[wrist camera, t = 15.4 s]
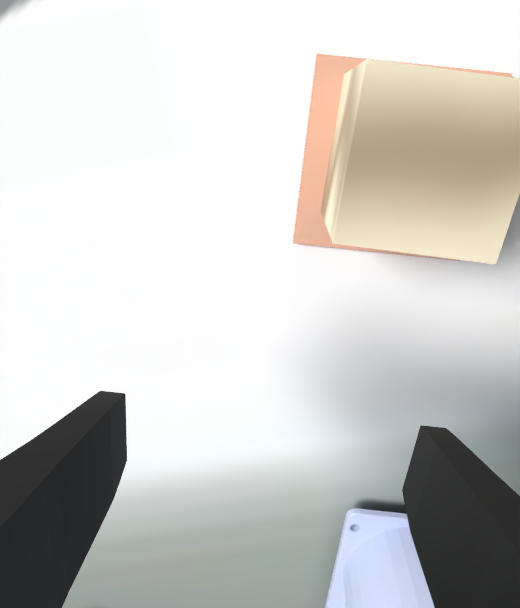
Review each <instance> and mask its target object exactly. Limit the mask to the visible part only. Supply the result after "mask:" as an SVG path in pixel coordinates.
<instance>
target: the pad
mask: <svg viewBox="0 0 520 608" xmlns="http://www.w3.org/2000/svg"><path fill="white" fill-rule="evenodd" d="M365 60H366V59H362V58H352V57H342V56H332V55H323V54H317V57H316V65H315V72H314V80H313V88H312V96H311V104H310V112H309V120H308V128H307V136H306V144H305V151H304V159H303V167H302V175H301V183H300V191H299V199H298V207H297V215H296V223H295V230H294V238H293V243H296V244H305V245H315V246H324V247H334V248H343V249H353V250H362V251H372V252H381V253H391V254H400V255H410V256H419V257H429V258H438V259H448V260H457V259H449V258H441V257H433V256H426V255H418V254H410V253H402V252H395V251H387V250H379V249H371V248H364V247H356V246H348V245H340V244H333V243H332V240H331V237H330V235H329V232H328V229H327V227H326V224H325V222H324V219H323V216H322V214H321V205H322V200H323V194H324V188H325V182H326V176H327V170H328V165H329V159H330V153H331V147H332V141H333V135H334V130H335V124H336V118H337V112H338V106H339V100H340V95H341V89H342V83H343V77H344V74H345V73H347V72H348V71H350V70H351V69H353V68H354V67H356V66H357V65H359V64H360V63H362V62H363V61H365ZM381 61H382V60H381ZM389 62H391V61H389ZM397 63H401V62H397ZM404 64H411V63H404ZM412 65H420V66H428V67H435V68H443V69H451V70H458V71H466V72H474V73H481V74H489V75H497V76H505V77H512V74H509V73H499V72H489V71H480V70H470V69H460V68H450V67H440V66H431V65H421V64H412ZM457 261H460V260H457Z"/></svg>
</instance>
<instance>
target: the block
mask: <svg viewBox="0 0 520 608" xmlns="http://www.w3.org/2000/svg"><path fill="white" fill-rule="evenodd" d="M519 195H520V78H512V77H505V76H497V75H489V74H481V73H474V72H466V71H458V70H451V69H443V68H435V67H428V66H420V65H412V64H404V63H397V62H389V61H381V60H374V59H366V60H365V61H363V62H362V63H360V64H359V65H357V66H356V67H354V68H353V69H351V70H350V71H348V72H347V73H345V74H344V77H343V83H342V89H341V95H340V100H339V106H338V112H337V118H336V124H335V130H334V135H333V141H332V147H331V153H330V159H329V165H328V170H327V176H326V182H325V188H324V194H323V200H322V205H321V214H322V216H323V219H324V222H325V224H326V227H327V229H328V232H329V235H330V237H331V240H332V243H333V244H340V245H348V246H356V247H364V248H371V249H379V250H387V251H395V252H402V253H410V254H418V255H426V256H433V257H441V258H449V259H457V260H464V261H472V262H480V263H488V264H495V265H496V263H497V260H498V257H499V254H500V251H501V248H502V245H503V242H504V239H505V236H506V233H507V230H508V227H509V224H510V221H511V218H512V215H513V212H514V209H515V206H516V203H517V200H518V198H519Z"/></svg>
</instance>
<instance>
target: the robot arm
mask: <svg viewBox="0 0 520 608" xmlns="http://www.w3.org/2000/svg"><path fill="white" fill-rule="evenodd" d="M126 461H127V445H126V405H125V394H124V393H114V392H105V391H100V392H98V393H97V394H95V395H94V396H93V397H91V398H90V399H88V400H87V401H86V402H84V403H83V404H81V405H80V406H79V407H77V408H76V409H75V410H73V411H72V412H71V413H69V414H68V415H66V416H65V417H64V418H62V419H61V420H59V421H58V422H57V423H55V424H54V425H52V426H51V427H50V428H48V429H47V430H45V431H44V432H42V433H41V434H40V435H38V436H37V437H35V438H34V439H32V440H31V441H29V442H28V443H26V444H25V445H23V446H21V447H20V448H18V449H17V450H15V451H14V452H12V453H11V454H9V455H7V456H6V457H4V458H3V459H1V460H0V608H62V606H63V604H64V601H65V599H66V597H67V595H68V592H69V590H70V588H71V586H72V584H73V582H74V580H75V578H76V576H77V574H78V572H79V570H80V568H81V565H82V563H83V561H84V559H85V557H86V555H87V553H88V551H89V549H90V547H91V545H92V543H93V541H94V539H95V537H96V535H97V533H98V531H99V528H100V526H101V524H102V522H103V520H104V518H105V516H106V514H107V512H108V510H109V508H110V505H111V503H112V501H113V499H114V496H115V493H116V491H117V488H118V485H119V482H120V479H121V476H122V473H123V470H124V467H125V464H126ZM402 491H403V496H404V502H405V508H406V513H407V514H404V513H394V512H385V511H376V510H367V509H358V508H354V509H351V510H349V511H348V512H347V514H346V517H345V522H344V526H343V530H342V535H341V539H340V544H339V548H338V552H337V557H336V561H335V565H334V570H333V574H332V579H331V583H330V587H329V592H328V596H327V600H326V605H325V608H520V496H519V495H518V494H517V493H516V492H515V491H513V490H512V489H511V488H510V487H509V486H508V485H507V484H506V483H505V482H504V481H502V480H501V479H500V478H499V477H498V476H497V475H496V474H495V473H494V472H493V471H492V470H491V469H490V468H489V467H487V466H486V465H485V464H484V463H483V462H482V461H481V460H480V459H479V458H478V457H477V456H476V455H475V454H474V453H473V452H472V451H471V450H470V449H468V448H467V447H466V446H465V445H464V444H463V443H462V442H461V441H460V440H459V439H458V438H457V437H456V436H454V435H453V434H452V433H451V432H450V431H449V430H448V429H446V428H439V427H430V426H421V427H420V430H419V434H418V437H417V441H416V444H415V448H414V451H413V455H412V458H411V462H410V465H409V469H408V472H407V476H406V479H405V483H404V486H403V490H402ZM354 524H356V525H354Z"/></svg>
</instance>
